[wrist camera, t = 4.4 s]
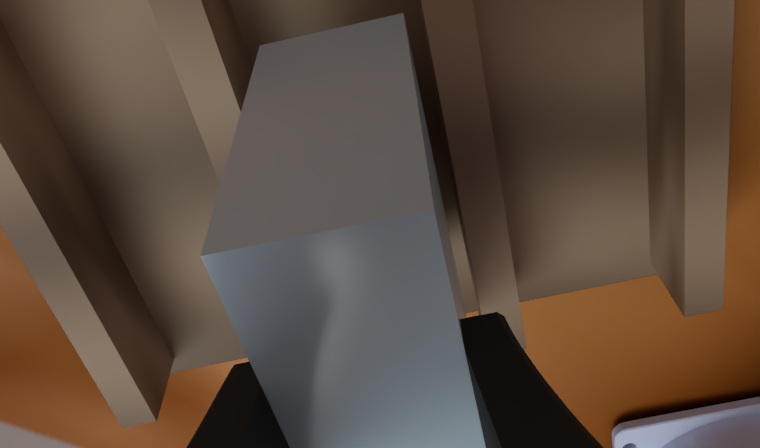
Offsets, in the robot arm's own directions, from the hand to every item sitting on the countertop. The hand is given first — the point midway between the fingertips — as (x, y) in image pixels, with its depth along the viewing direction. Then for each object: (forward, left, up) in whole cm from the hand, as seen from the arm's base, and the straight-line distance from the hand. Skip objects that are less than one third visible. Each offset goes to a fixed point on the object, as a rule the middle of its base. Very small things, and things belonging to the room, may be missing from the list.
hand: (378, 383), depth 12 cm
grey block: (0, 0, -6) cm, 6 cm away
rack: (0, 0, -9) cm, 9 cm away
